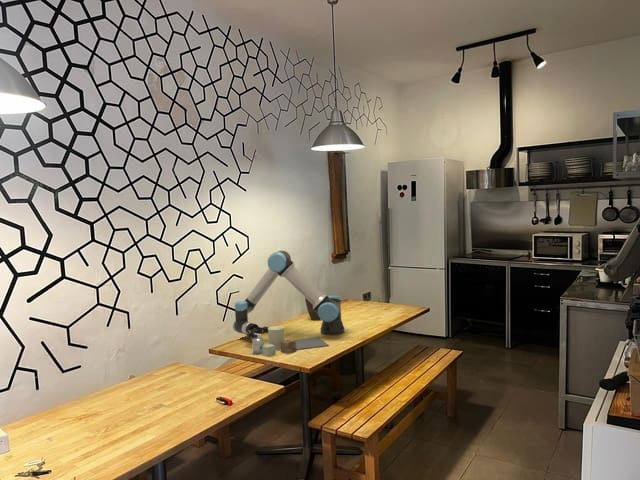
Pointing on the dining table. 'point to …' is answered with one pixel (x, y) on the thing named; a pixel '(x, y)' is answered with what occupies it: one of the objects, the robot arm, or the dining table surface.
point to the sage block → (268, 350)
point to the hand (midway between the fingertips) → (271, 335)
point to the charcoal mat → (310, 343)
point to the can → (276, 336)
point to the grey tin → (257, 345)
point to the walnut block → (288, 346)
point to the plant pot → (311, 311)
